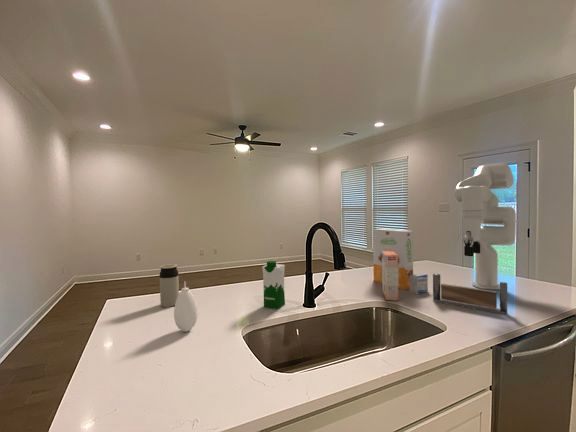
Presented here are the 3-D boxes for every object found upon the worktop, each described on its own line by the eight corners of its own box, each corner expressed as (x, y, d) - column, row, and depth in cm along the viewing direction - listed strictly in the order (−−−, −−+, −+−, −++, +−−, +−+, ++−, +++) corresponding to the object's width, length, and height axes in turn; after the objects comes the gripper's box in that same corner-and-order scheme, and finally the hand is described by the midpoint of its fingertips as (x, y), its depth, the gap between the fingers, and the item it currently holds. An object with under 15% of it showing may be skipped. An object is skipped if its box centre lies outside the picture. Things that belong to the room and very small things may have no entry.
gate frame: (434, 299, 135) (434, 273, 134) (508, 312, 117) (507, 282, 116) (432, 301, 132) (432, 274, 132) (506, 314, 114) (506, 284, 113)
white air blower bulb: (184, 337, 100) (182, 284, 100) (170, 332, 104) (168, 282, 104) (202, 328, 107) (200, 279, 106) (188, 324, 111) (186, 277, 111)
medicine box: (417, 294, 143) (417, 276, 143) (409, 291, 147) (409, 274, 147) (428, 291, 147) (427, 274, 146) (420, 289, 151) (420, 272, 150)
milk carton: (260, 307, 128) (259, 262, 128) (270, 301, 136) (269, 258, 136) (278, 310, 125) (277, 263, 124) (287, 303, 133) (286, 259, 132)
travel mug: (182, 304, 135) (181, 265, 135) (165, 308, 130) (164, 268, 129) (174, 300, 141) (173, 263, 140) (157, 305, 135) (156, 266, 135)
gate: (442, 298, 131) (442, 283, 131) (496, 307, 118) (496, 291, 118) (441, 299, 130) (440, 284, 130) (496, 308, 116) (496, 292, 116)
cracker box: (399, 301, 133) (398, 255, 132) (385, 300, 134) (384, 255, 133) (394, 292, 147) (394, 250, 146) (381, 291, 148) (381, 250, 147)
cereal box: (413, 288, 153) (412, 230, 152) (404, 289, 151) (404, 231, 150) (381, 279, 173) (381, 228, 173) (373, 280, 171) (372, 229, 170)
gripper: (469, 214, 134) (469, 251, 135) (455, 215, 123) (455, 256, 123) (488, 214, 129) (488, 253, 129) (476, 215, 117) (476, 258, 118)
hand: (472, 254), depth 126 cm, fingers open, 9 cm apart
